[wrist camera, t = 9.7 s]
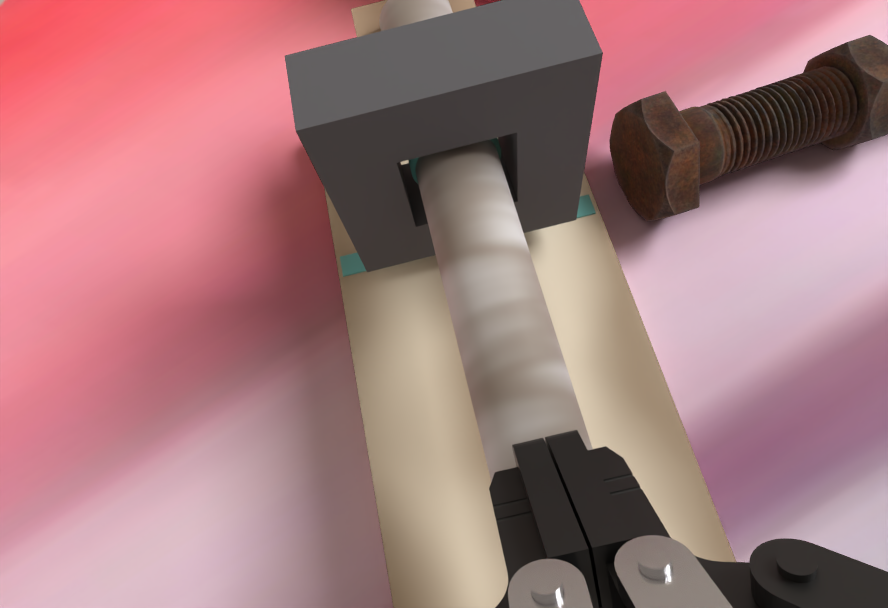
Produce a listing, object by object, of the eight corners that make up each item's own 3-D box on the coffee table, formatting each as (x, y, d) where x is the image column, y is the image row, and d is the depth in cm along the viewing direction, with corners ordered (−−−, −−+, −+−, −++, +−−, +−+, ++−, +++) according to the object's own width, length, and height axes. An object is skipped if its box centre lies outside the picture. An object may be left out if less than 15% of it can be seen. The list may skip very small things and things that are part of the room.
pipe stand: (539, 81, 33) (546, -88, 24) (768, 681, 21) (932, 751, 13) (321, 136, 33) (253, -13, 24) (427, 761, 21) (367, 884, 13)
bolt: (899, 133, 31) (626, 225, 30) (874, 35, 31) (596, 125, 30) (1016, 102, 25) (682, 215, 24) (987, -18, 25) (646, 92, 24)
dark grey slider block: (555, 163, 27) (570, -18, 19) (576, 219, 26) (602, 52, 17) (356, 213, 27) (284, 55, 19) (367, 272, 26) (295, 130, 17)
